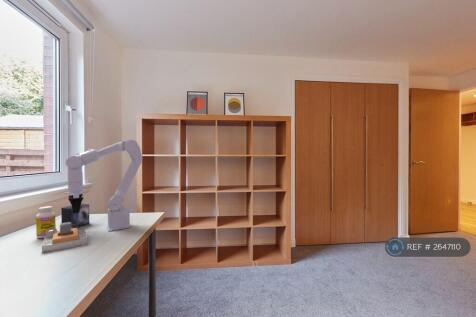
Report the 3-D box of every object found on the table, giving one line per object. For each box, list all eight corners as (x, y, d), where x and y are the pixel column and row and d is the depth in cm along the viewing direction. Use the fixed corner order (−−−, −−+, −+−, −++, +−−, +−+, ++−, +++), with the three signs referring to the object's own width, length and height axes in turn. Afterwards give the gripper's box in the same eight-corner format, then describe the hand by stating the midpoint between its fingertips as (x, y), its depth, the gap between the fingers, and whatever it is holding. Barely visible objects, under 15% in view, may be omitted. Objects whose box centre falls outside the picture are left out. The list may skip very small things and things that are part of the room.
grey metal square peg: (71, 240, 99) (71, 221, 99) (71, 243, 96) (70, 223, 96) (61, 242, 97) (60, 223, 97) (60, 245, 94) (59, 225, 94)
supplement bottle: (38, 239, 99) (37, 209, 100) (34, 237, 104) (33, 208, 104) (58, 235, 105) (56, 206, 105) (53, 233, 109) (52, 205, 109)
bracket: (76, 227, 108) (76, 224, 108) (77, 238, 94) (77, 235, 94) (54, 231, 104) (54, 227, 103) (52, 243, 89) (52, 239, 89)
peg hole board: (85, 234, 106) (84, 223, 106) (87, 244, 95) (86, 231, 95) (45, 241, 98) (44, 229, 98) (42, 253, 86) (41, 239, 86)
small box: (70, 230, 113) (69, 208, 113) (60, 228, 115) (60, 207, 115) (90, 223, 123) (89, 203, 123) (81, 222, 125) (80, 203, 125)
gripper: (64, 181, 112) (65, 209, 112) (64, 184, 100) (65, 216, 101) (82, 180, 116) (83, 207, 117) (84, 183, 104) (84, 213, 105)
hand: (76, 211), depth 109 cm, fingers open, 7 cm apart
